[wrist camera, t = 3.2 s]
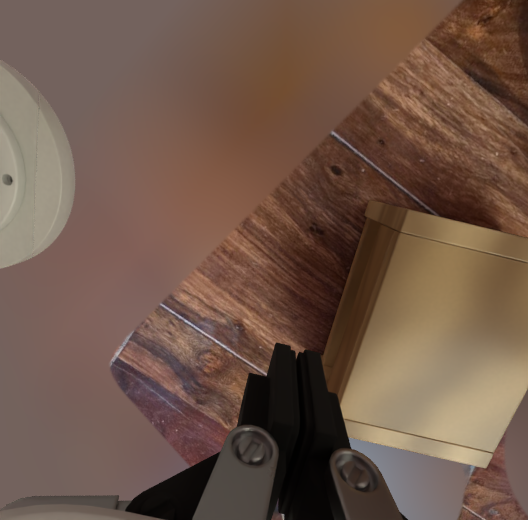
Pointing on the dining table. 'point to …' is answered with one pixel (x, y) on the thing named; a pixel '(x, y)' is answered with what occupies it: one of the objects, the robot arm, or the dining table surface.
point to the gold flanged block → (431, 335)
